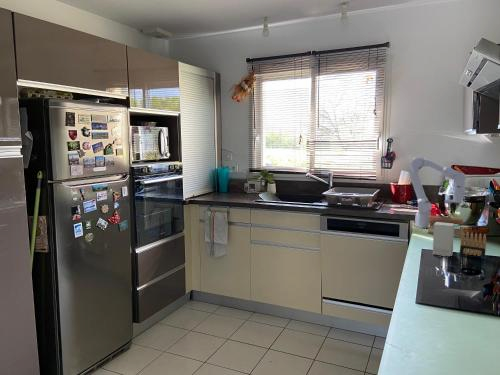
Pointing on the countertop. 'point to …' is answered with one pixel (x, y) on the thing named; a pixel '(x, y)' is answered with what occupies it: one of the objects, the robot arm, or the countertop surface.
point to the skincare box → (443, 238)
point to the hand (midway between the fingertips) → (457, 215)
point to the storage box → (456, 231)
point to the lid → (445, 220)
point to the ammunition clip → (473, 245)
